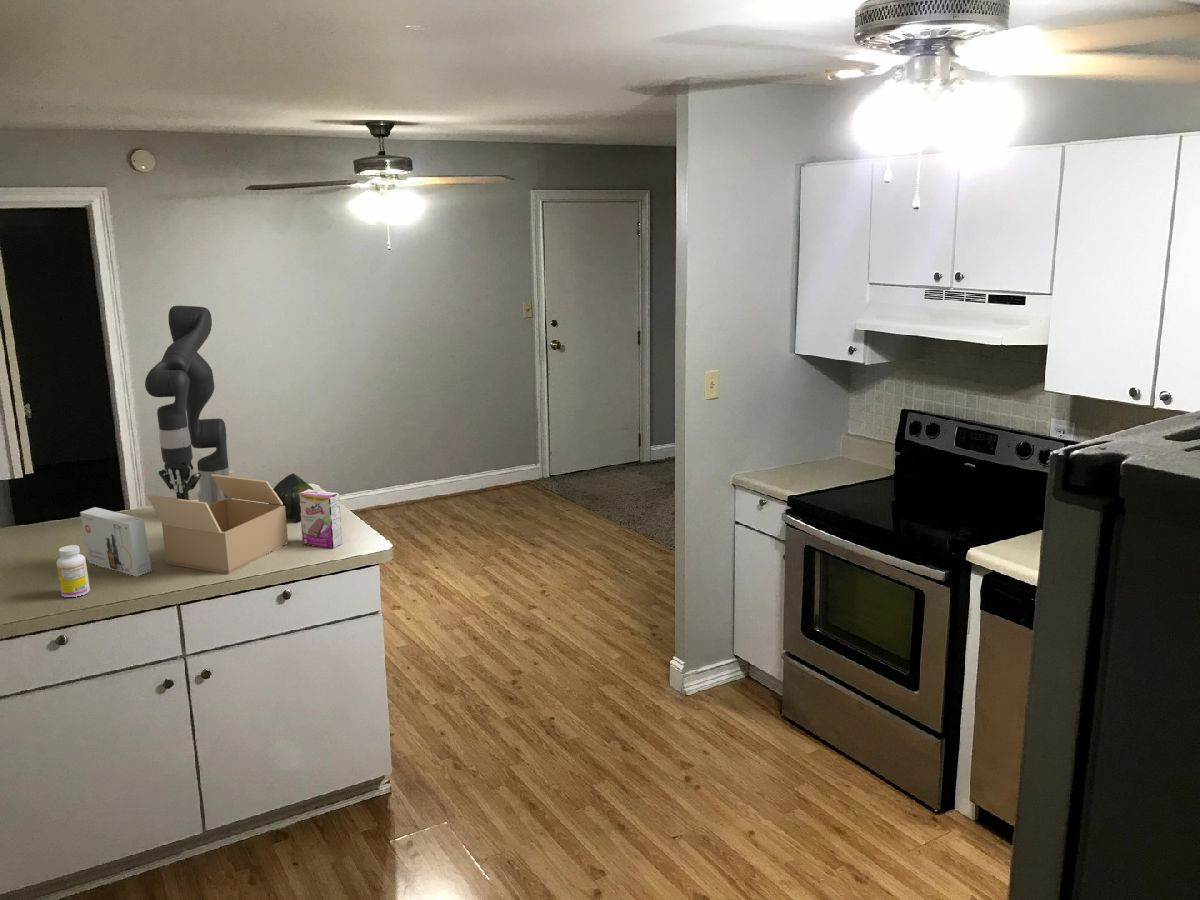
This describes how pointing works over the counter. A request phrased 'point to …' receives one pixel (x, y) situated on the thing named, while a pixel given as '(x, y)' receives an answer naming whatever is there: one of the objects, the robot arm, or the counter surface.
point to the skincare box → (116, 541)
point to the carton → (228, 537)
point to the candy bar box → (320, 518)
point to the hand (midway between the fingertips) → (183, 504)
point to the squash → (291, 494)
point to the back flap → (247, 489)
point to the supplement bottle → (72, 572)
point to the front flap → (184, 513)
